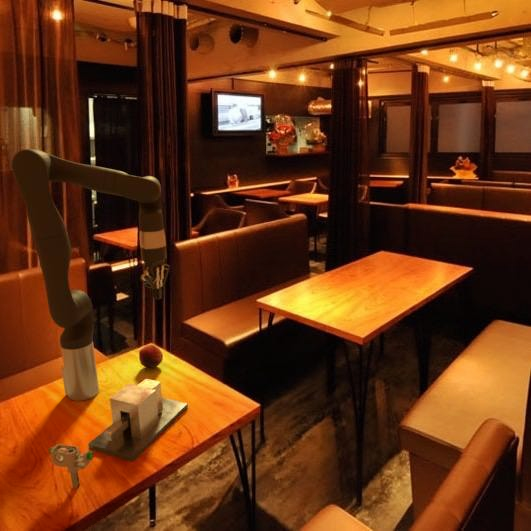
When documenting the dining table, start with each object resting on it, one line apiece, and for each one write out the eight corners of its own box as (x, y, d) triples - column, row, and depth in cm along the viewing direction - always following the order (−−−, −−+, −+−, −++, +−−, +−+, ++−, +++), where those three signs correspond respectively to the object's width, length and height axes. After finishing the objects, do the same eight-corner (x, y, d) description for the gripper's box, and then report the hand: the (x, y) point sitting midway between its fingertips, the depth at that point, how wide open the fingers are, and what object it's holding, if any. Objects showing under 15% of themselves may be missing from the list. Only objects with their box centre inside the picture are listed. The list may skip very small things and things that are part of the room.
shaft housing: (88, 448, 130) (83, 410, 127) (148, 398, 153) (145, 364, 150) (132, 462, 125) (128, 422, 121) (187, 408, 148) (185, 373, 144)
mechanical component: (92, 493, 115) (87, 456, 112) (52, 487, 116) (46, 451, 114) (99, 484, 117) (94, 448, 114) (60, 479, 119) (54, 443, 116)
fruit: (165, 362, 176) (163, 341, 174) (161, 372, 168) (159, 351, 166) (143, 362, 176) (141, 341, 174) (137, 373, 168) (135, 351, 166)
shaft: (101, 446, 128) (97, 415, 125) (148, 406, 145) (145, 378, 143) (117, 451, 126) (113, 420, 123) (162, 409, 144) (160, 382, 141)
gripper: (155, 238, 156) (159, 290, 161) (128, 248, 145) (134, 304, 150) (175, 240, 153) (179, 293, 158) (150, 250, 142) (155, 307, 147)
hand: (157, 298), depth 154 cm, fingers closed
